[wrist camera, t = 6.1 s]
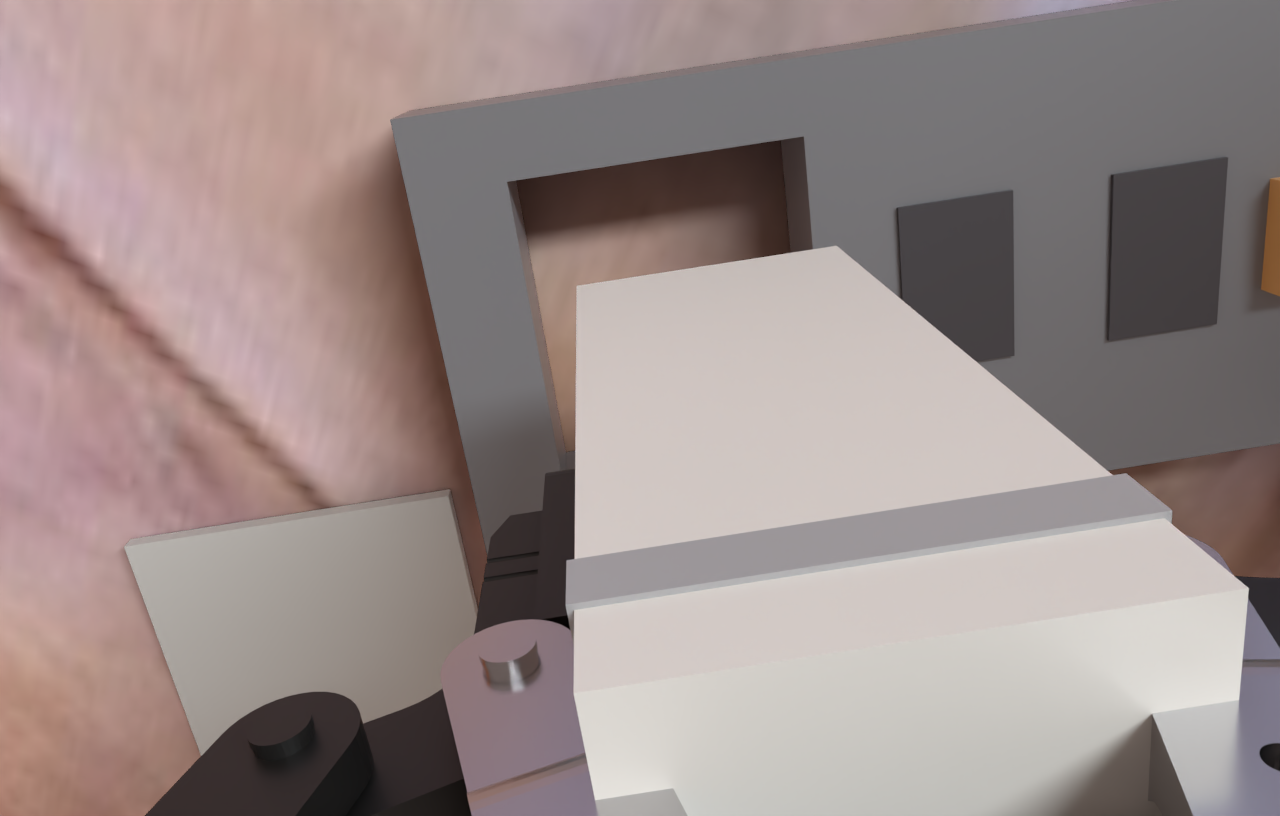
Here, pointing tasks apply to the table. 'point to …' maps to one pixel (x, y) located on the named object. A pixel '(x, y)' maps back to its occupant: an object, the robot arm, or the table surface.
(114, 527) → the table surface
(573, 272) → the table surface
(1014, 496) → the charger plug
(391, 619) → the rubber mat
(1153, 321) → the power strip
